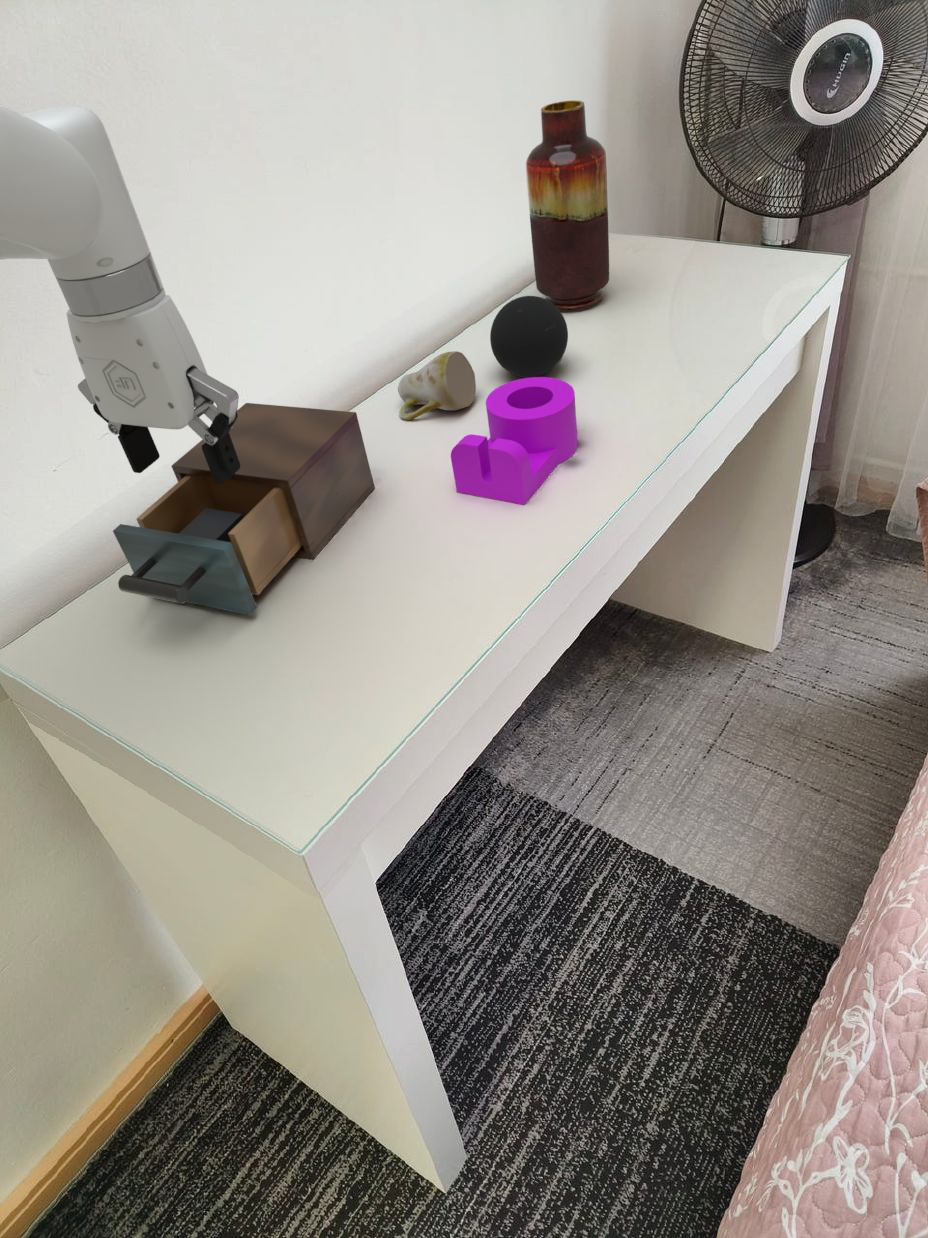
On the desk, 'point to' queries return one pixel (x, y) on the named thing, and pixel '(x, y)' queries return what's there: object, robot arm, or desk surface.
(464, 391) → the mug
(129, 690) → the desk surface
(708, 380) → the desk surface
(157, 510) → the drawer
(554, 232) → the vase
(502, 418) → the tape dispenser
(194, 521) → the block
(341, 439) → the cabinet
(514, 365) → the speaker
